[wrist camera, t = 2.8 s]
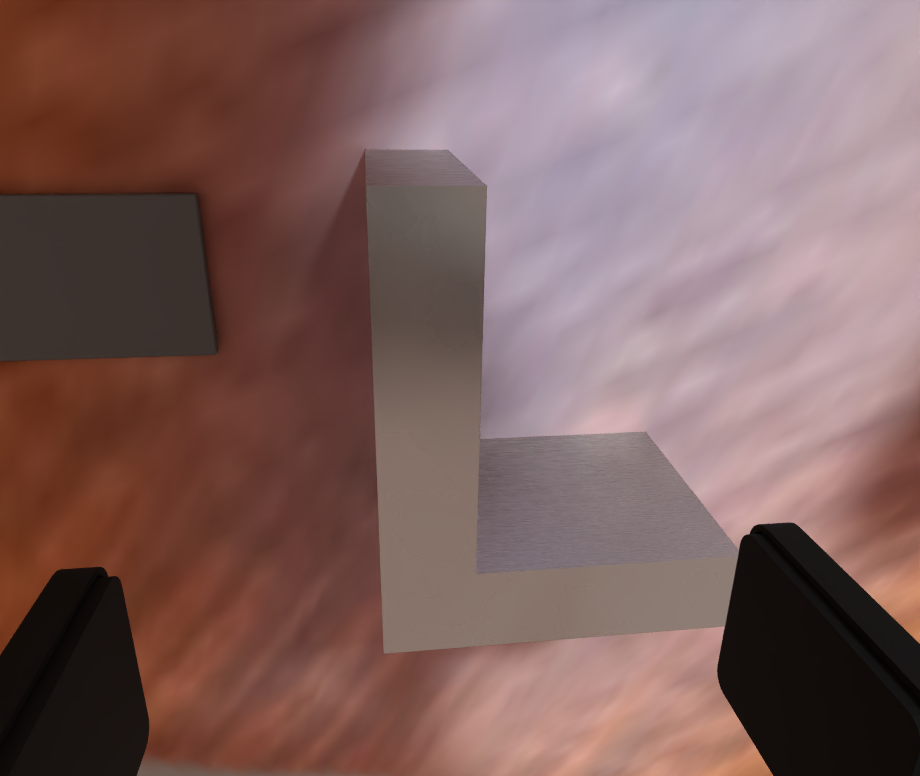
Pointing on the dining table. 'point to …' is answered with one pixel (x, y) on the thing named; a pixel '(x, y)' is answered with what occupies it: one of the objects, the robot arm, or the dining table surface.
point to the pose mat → (103, 277)
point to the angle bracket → (504, 461)
